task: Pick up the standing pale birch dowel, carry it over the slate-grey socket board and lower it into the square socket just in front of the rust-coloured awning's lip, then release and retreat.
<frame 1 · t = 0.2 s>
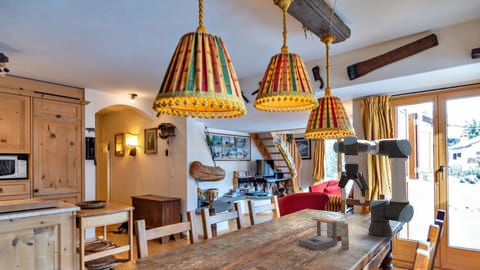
hand: (352, 201, 172), 27 cm above the table, fingers open, 13 cm apart
ink box: (336, 238, 197), on the table
peg: (345, 248, 176), on the table
socket porch: (318, 244, 183), on the table
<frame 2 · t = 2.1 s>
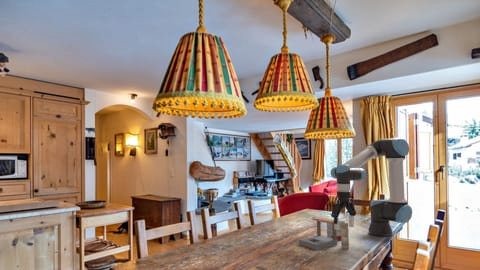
hand: (344, 228, 176), 11 cm above the table, fingers open, 13 cm apart
nothing on the table moved.
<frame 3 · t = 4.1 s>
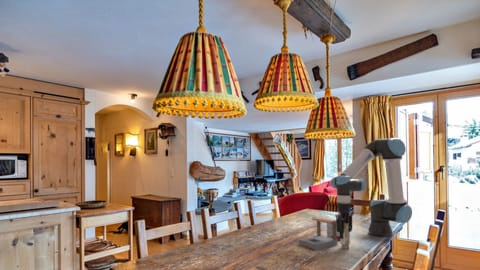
hand: (345, 243, 176), 3 cm above the table, fingers closed on peg, 4 cm apart
peg: (345, 248, 176), on the table, touching gripper
everything else where it was.
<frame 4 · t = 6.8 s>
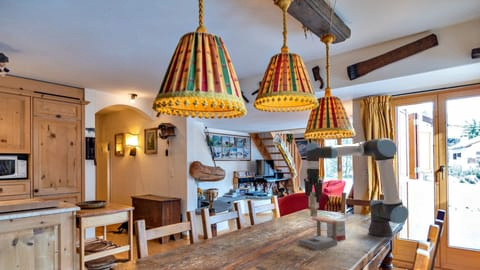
hand: (313, 207, 183), 22 cm above the table, fingers closed on peg, 4 cm apart
peg: (313, 216, 182), point 17 cm above the table, touching gripper
everything else where it was.
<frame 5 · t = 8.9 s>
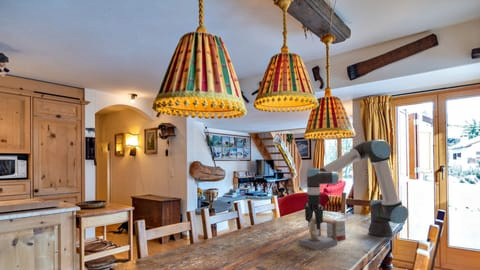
hand: (314, 233, 182), 7 cm above the table, fingers closed on peg, 4 cm apart
peg: (314, 242, 181), point 2 cm above the table, touching gripper
everything else where it was.
when the fingers open (4 cm above the table, at t = 10.0 s): peg stays where it is, resting in socket porch.
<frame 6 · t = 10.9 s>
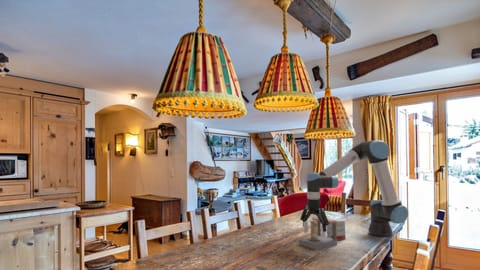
hand: (314, 234, 182), 6 cm above the table, fingers open, 13 cm apart
peg: (314, 245, 181), resting in socket porch
everything else where it was.
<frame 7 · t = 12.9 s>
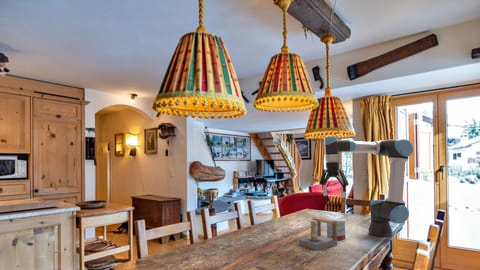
hand: (334, 196, 186), 28 cm above the table, fingers open, 13 cm apart
nothing on the table moved.
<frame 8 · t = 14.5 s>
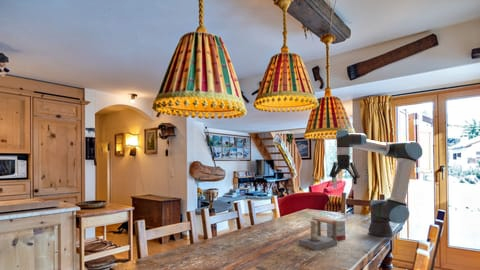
hand: (344, 189, 188), 33 cm above the table, fingers open, 13 cm apart
nothing on the table moved.
at the end: peg 0.1 cm from the target spot on the socket porch, point 0.0 cm above the socket porch's base; peg tilted 0°; the gripper is holding nothing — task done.
